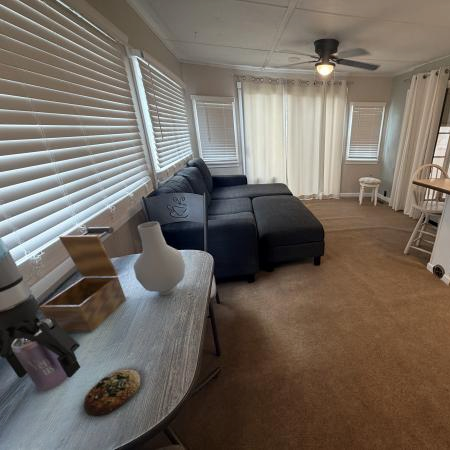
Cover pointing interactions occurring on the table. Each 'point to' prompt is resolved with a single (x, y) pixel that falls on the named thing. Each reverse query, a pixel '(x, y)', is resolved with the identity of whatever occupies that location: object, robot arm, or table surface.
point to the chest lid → (90, 252)
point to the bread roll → (111, 392)
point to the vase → (158, 261)
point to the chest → (85, 303)
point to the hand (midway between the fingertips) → (50, 372)
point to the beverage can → (39, 363)
